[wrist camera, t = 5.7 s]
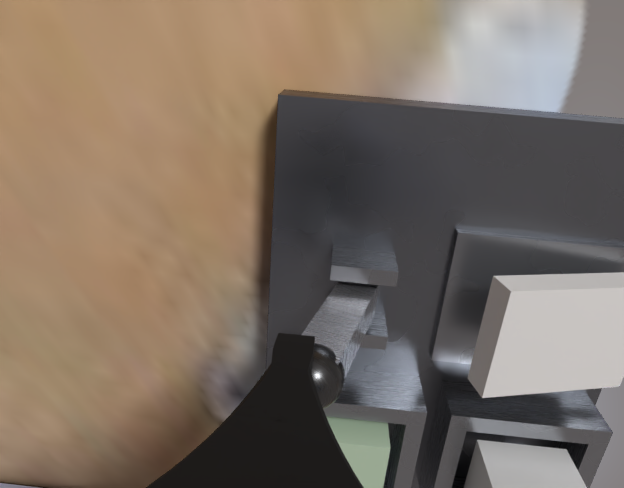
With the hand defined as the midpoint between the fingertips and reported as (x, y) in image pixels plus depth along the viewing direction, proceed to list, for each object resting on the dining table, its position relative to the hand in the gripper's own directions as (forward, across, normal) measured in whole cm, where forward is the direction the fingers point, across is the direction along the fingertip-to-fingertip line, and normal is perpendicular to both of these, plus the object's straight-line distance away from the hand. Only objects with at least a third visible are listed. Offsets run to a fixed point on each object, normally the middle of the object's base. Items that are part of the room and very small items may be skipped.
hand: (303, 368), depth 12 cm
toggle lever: (+4, -2, 0) cm, 4 cm away
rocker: (+3, -8, 0) cm, 8 cm away
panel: (+6, -4, +3) cm, 8 cm away
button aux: (+3, -7, +6) cm, 10 cm away
